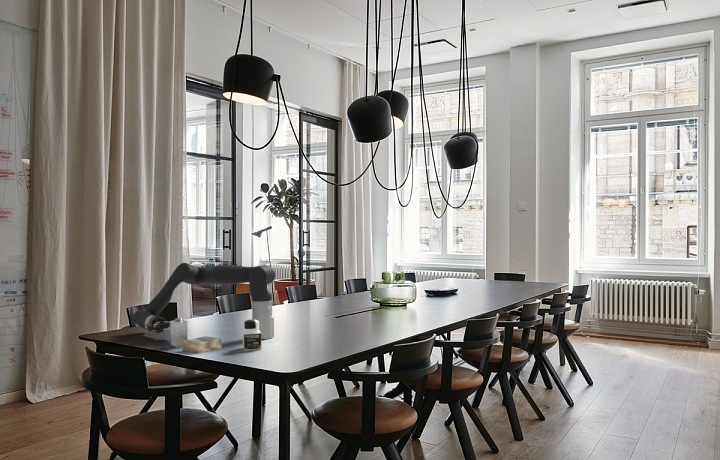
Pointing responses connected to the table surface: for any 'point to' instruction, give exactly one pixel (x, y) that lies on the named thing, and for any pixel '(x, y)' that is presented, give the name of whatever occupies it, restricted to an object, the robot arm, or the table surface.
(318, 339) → the table surface
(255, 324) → the medicine bottle
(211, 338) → the stand
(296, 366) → the table surface
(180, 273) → the robot arm
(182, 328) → the housing
